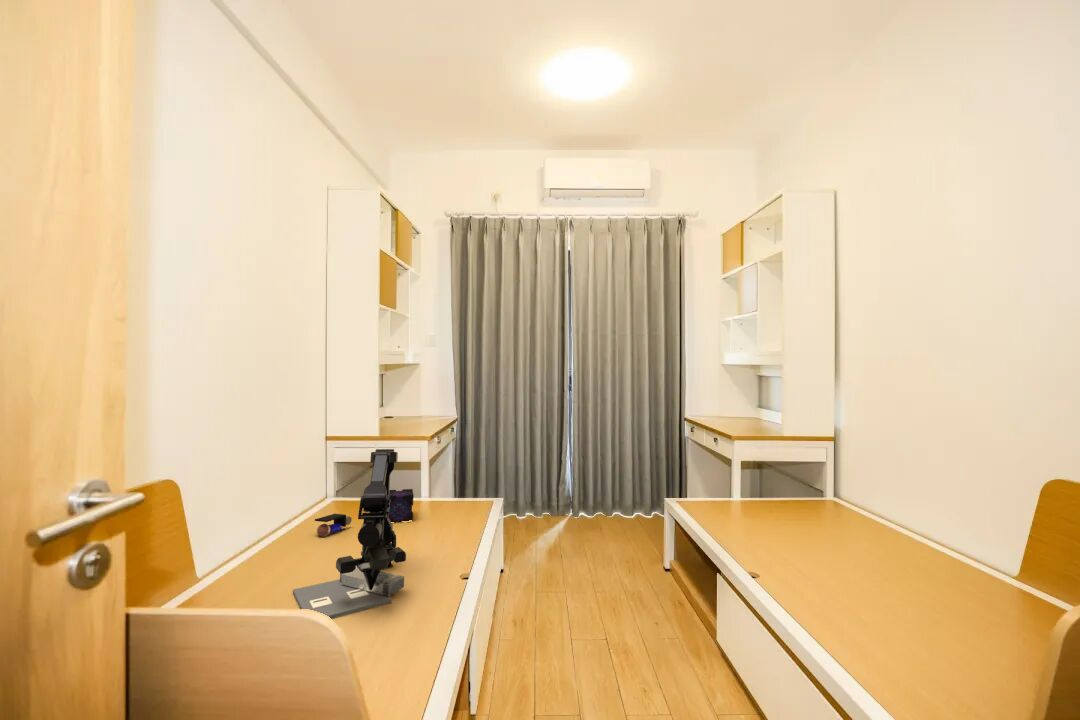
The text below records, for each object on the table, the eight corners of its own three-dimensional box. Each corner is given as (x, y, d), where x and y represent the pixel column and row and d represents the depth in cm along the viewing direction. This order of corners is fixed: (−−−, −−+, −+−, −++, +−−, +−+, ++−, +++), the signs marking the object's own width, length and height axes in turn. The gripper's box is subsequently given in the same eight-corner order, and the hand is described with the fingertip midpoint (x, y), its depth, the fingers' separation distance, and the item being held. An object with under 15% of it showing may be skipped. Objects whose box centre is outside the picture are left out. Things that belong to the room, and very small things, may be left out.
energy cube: (384, 516, 221) (385, 490, 221) (411, 514, 224) (412, 488, 225) (384, 524, 209) (385, 496, 210) (412, 522, 213) (413, 495, 213)
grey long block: (333, 582, 147) (333, 571, 147) (350, 574, 153) (350, 564, 153) (388, 596, 138) (388, 585, 138) (403, 587, 145) (404, 576, 145)
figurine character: (338, 530, 204) (311, 536, 190) (340, 511, 205) (314, 516, 191) (351, 532, 202) (325, 538, 188) (353, 513, 203) (327, 518, 189)
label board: (368, 576, 155) (368, 572, 155) (391, 602, 137) (391, 599, 137) (292, 592, 142) (292, 589, 142) (307, 624, 124) (308, 620, 124)
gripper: (347, 548, 128) (344, 608, 127) (414, 537, 139) (411, 592, 138) (336, 537, 137) (333, 593, 136) (400, 527, 148) (398, 579, 147)
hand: (370, 589), depth 139 cm, fingers closed
